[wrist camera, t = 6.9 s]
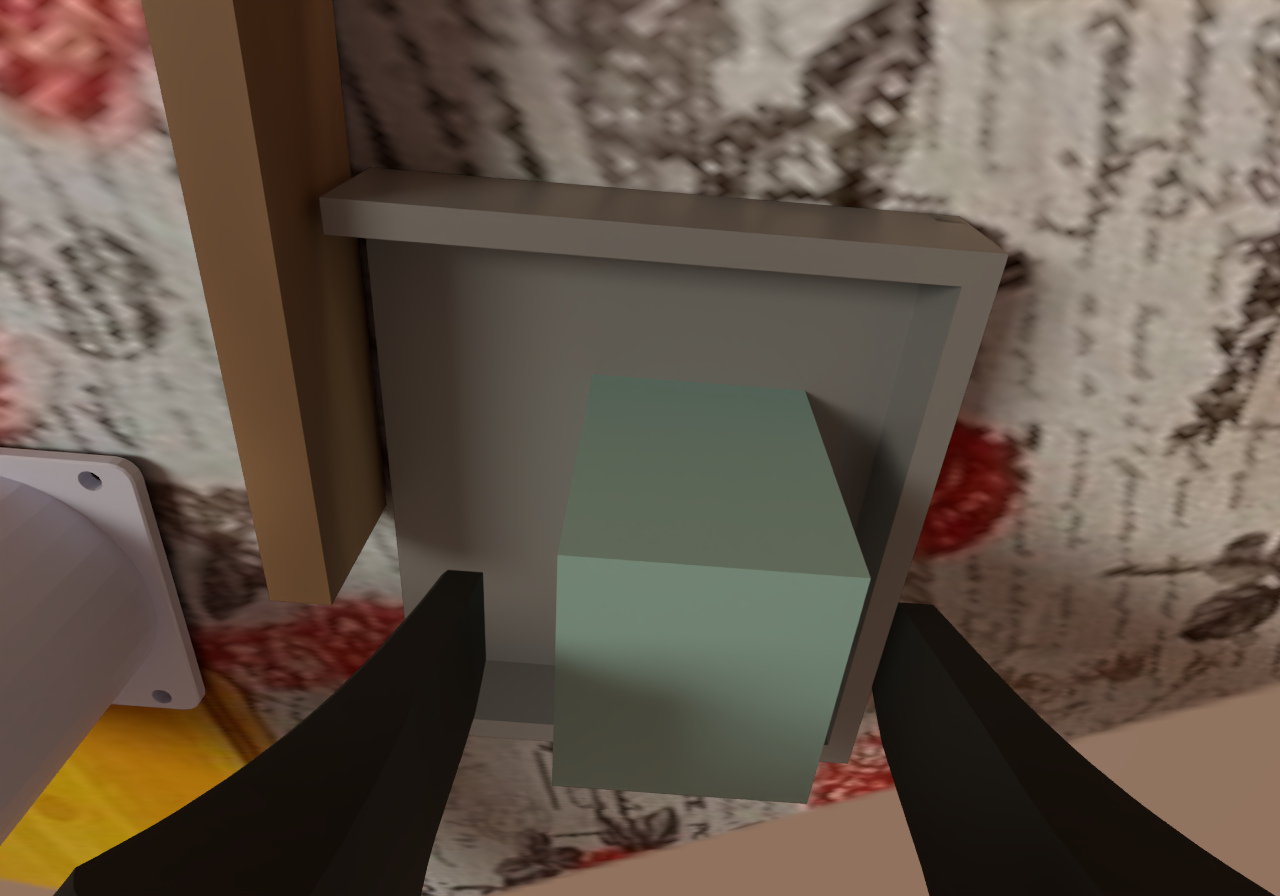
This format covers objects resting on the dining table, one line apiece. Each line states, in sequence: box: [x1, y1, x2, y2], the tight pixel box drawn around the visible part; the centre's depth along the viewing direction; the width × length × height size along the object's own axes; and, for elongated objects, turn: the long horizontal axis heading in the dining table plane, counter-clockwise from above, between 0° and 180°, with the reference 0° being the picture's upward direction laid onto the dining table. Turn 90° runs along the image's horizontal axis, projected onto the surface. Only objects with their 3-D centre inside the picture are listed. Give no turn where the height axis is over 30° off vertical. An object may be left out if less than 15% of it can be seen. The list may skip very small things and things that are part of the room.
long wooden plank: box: [142, 0, 387, 605], centre depth 13 cm, size 1×16×4 cm, turn 176°
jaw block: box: [552, 374, 871, 804], centre depth 15 cm, size 4×5×6 cm
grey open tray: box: [319, 168, 1009, 764], centre depth 17 cm, size 11×13×2 cm
